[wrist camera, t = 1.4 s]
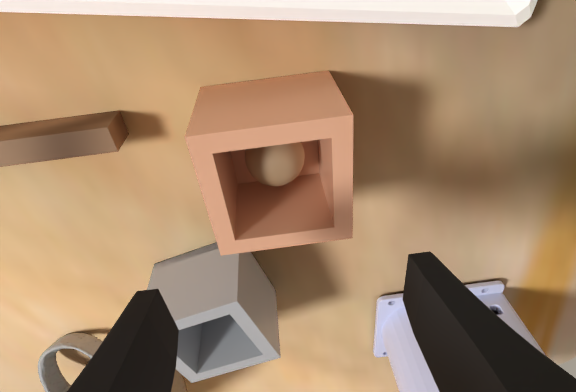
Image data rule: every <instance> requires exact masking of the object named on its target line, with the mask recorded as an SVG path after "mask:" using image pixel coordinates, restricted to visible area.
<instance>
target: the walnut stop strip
mask: <svg viewBox="0 0 576 392" xmlns="http://www.w3.org/2000/svg"><path fill="white" fill-rule="evenodd" d="M128 134H129V133H128V130H127V128H126V126H125V123H124V121H123V118H122V116H121V113H120V111H113V112H105V113H97V114H90V115H82V116H74V117H67V118H59V119H51V120H43V121H36V122H28V123H20V124H13V125H5V126H0V167H3V166H11V165H18V164H26V163H34V162H41V161H49V160H57V159H64V158H72V157H79V156H87V155H95V154H102V153H110V152H118V151H119V149H120V147H121V146H122V144H123V142H124V141H125V139H126V137H127V135H128Z"/></svg>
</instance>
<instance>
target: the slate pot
mask: <svg viewBox="0 0 576 392" xmlns="http://www.w3.org/2000/svg"><path fill="white" fill-rule="evenodd" d="M151 289H159V291H160V293H161V295H162V297H163V299H164V301H165V303H166V305H167V307H168V309H169V311H170V313H171V315H172V317H173V319H174V321H175V323H176V325H177V327H178V329H179V335H178V350H177V361H176V370H177V371H178V372H179V373H181V374H182V375H183V376H184V377H185V378H187V379H188V380H189V381H190V382H191V383H193V382H197V381H200V380H204V379H207V378H211V377H214V376H218V375H221V374H225V373H228V372H232V371H235V370H239V369H242V368H246V367H249V366H253V365H256V364H260V363H263V362H267V361H270V360H274V359H277V358H281V357H280V343H279V329H278V314H277V300H276V290H275V289H274V287H273V286H272V284H271V283H270V281H269V279H268V278H267V276H266V275H265V273H264V272H263V270H262V269H261V267H260V265H259V264H258V262H257V261H256V259H255V258H254V256H253V255H252V253H251V252H245V253H237V254H229V255H222V256H221V255H220V251H219V248H218V245H217V242H216V243H213V244H210V245H207V246H205V247H202V248H199V249H196V250H193V251H190V252H187V253H184V254H182V255H179V256H176V257H173V258H170V259H167V260H164V261H161V262H158V263H156V264H154V267H153V270H152V274H151V277H150V281H149V284H148V288H147V290H151Z"/></svg>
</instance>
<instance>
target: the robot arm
mask: <svg viewBox="0 0 576 392" xmlns="http://www.w3.org/2000/svg"><path fill="white" fill-rule="evenodd" d="M504 287H505V286H504V284H503V283H502V281H490V282H483V283H475V284H468V285H464V284H463V283H462V282H461V281H460V280H459V279H458V278H457V277H456V276H455V275H454V274H453V273H452V272H451V271H450V270H449V269H448V268H447V267H446V266H445V265H444V264H443V263H442V262H441V261H440V260H439V259H438V258H437V257H436V256H435V255H434V254H432V253H431V252H423V253H415V254H409V255H408V263H407V270H406V278H405V285H404V292H403V293H401V294H393V295H386V296H381V297H379V298H378V300H377V307H376V321H375V334H374V348H373V352H374V356H376V357H385V356H388V358H389V361H390V364H391V367H392V370H393V373H394V376H395V379H396V383H397V386H398V389H399V392H576V379H575V378H574V377H573V376H572V375H570V374H569V373H568V372H566V371H565V370H563V369H562V368H561V367H559V366H558V365H557V364H555V363H554V362H553V361H552V360H550V359H549V358H548V357H547V356H546V355H545V353H544V352H543V350H542V349H541V348H540V346H539V345H538V343H537V342H536V340H535V339H534V337H533V336H532V335H531V333H530V332H529V330H528V329H527V327H526V326H525V325H524V323H523V322H522V320H521V319H520V317H519V316H518V314H517V313H516V312H515V310H514V309H513V307H512V306H511V304H510V303H509V301H508V300H507V299H506V297H505V296H504V294H503V290H504ZM178 335H179V329H178V327H177V325H176V323H175V321H174V319H173V317H172V315H171V313H170V311H169V309H168V307H167V305H166V303H165V301H164V299H163V297H162V295H161V293H160V291H159V289H151V290H144V291H137V292H136V293H135V295H134V296H133V297H132V299H131V300H130V302H129V303H128V305H127V306H126V308H125V309H124V311H123V312H122V314H121V315H120V317H119V318H118V320H117V321H116V323H115V324H114V326H113V327H112V329H111V330H110V332H109V333H108V335H107V336H106V338H105V339H104V341H103V342H102V344H101V345H100V346H99V348H98V349H97V351H96V352H95V354H94V355H93V356H92V358H91V359H90V361H89V362H88V364H87V365H86V366H85V368H84V369H83V371H82V372H81V373H80V375H79V376H78V377H77V379H76V380H75V381H74V383H73V384H72V385H71V387H70V388H69V389H68V390H67V392H171V390H172V384H173V379H174V374H175V369H176V361H177V350H178Z"/></svg>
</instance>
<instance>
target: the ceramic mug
mask: <svg viewBox="0 0 576 392" xmlns="http://www.w3.org/2000/svg"><path fill="white" fill-rule="evenodd" d="M101 344H102V341H101V340H100V339H97V337H94V336H92V335H89V334H86V333H71V334H67V335H65V336H63V337H61V338H59V339H58V340H57V341H56V342H55V343H53V344H52V345H51V346H50V347H49V348H48V349H46V350H45V351H44V352H43V354H42V355H41V356H40V359H39V362H38V373H39V377H40V381H41V383H42V385H43V387H44V390H45V392H67V390H68V389H69V388H70V387H71V385H70V384H69V383H68V382H67V381H66V380H65V378H64V377H63V375H62V374H61V372H60V370H59V367H58V365H57V361H56V353H57V351H59V350H60V349H65V348H66V349H69V348H71V349H76V350H78V351H80V352H82V353H84V354H86V355H87V356H89V357H90V359H91V358H92V356H93V355H94V354H95V352H96V351H97V349H98V348H99V346H100V345H101ZM171 392H187V389H186V384H185V381H184V379H183V376H182V374H181V373H179V372H178V371H177V370H176V369H175V374H174V379H173V384H172V390H171Z"/></svg>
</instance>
